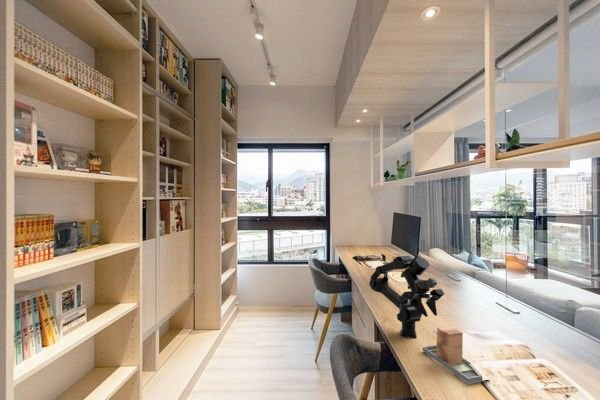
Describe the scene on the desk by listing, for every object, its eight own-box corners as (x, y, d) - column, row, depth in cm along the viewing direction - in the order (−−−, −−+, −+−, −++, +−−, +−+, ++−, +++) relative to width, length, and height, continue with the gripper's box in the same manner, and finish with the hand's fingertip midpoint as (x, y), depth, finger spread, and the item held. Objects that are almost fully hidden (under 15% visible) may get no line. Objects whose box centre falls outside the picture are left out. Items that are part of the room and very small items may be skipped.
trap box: (422, 352, 119) (422, 347, 119) (441, 349, 122) (441, 344, 122) (468, 384, 98) (468, 378, 98) (489, 380, 100) (490, 374, 100)
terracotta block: (436, 356, 114) (436, 327, 114) (449, 354, 115) (450, 325, 115) (448, 365, 108) (449, 334, 108) (462, 362, 110) (462, 332, 110)
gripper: (403, 272, 123) (421, 308, 113) (441, 269, 129) (461, 304, 118) (392, 286, 131) (408, 321, 120) (428, 283, 136) (446, 317, 126)
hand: (431, 315), depth 121 cm, fingers open, 4 cm apart
